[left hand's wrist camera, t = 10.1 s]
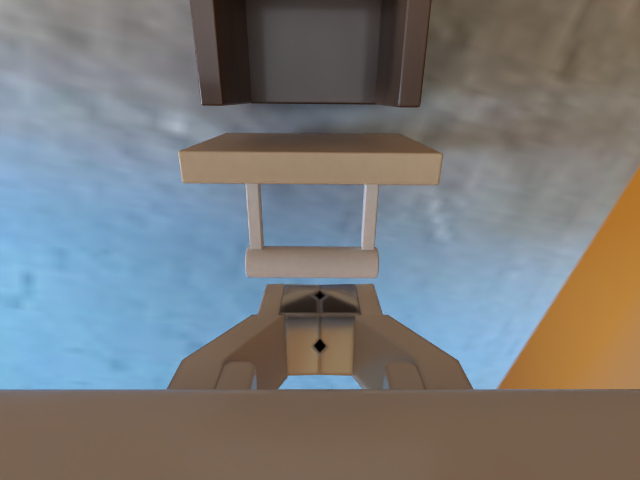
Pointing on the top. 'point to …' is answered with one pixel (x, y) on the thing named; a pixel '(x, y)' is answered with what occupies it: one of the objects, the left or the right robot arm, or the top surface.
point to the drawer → (311, 88)
